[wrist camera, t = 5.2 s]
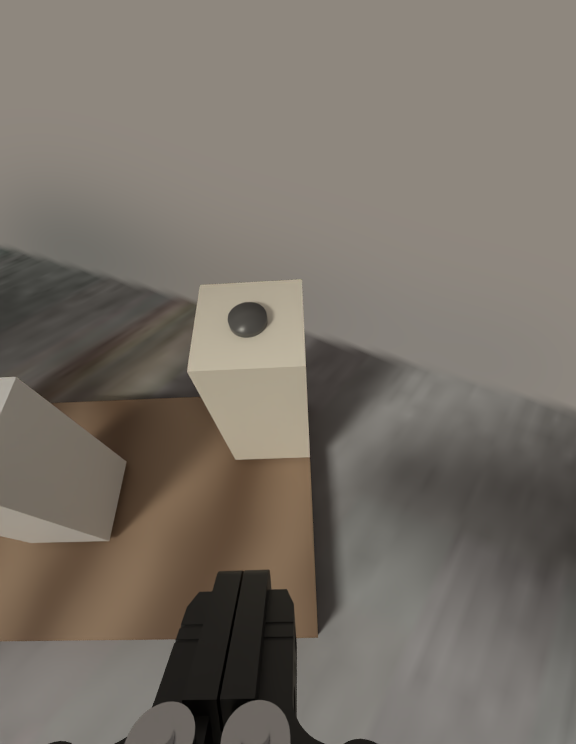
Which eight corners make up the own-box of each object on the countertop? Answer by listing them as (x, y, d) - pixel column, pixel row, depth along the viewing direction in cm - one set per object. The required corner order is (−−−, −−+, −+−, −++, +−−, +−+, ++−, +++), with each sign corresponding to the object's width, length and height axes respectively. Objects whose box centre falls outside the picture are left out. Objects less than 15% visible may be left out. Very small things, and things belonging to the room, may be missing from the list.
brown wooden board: (-170, 641, 19) (-205, 643, 17) (-57, 418, 25) (-77, 408, 24) (318, 635, 18) (318, 637, 16) (307, 403, 24) (307, 392, 23)
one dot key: (235, 459, 20) (184, 366, 13) (239, 394, 23) (197, 279, 15) (309, 457, 20) (305, 361, 12) (307, 391, 22) (301, 273, 14)
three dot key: (30, 542, 19) (-175, 496, 11) (55, 464, 21) (-102, 377, 13) (109, 540, 19) (-42, 491, 11) (126, 461, 21) (10, 372, 13)
